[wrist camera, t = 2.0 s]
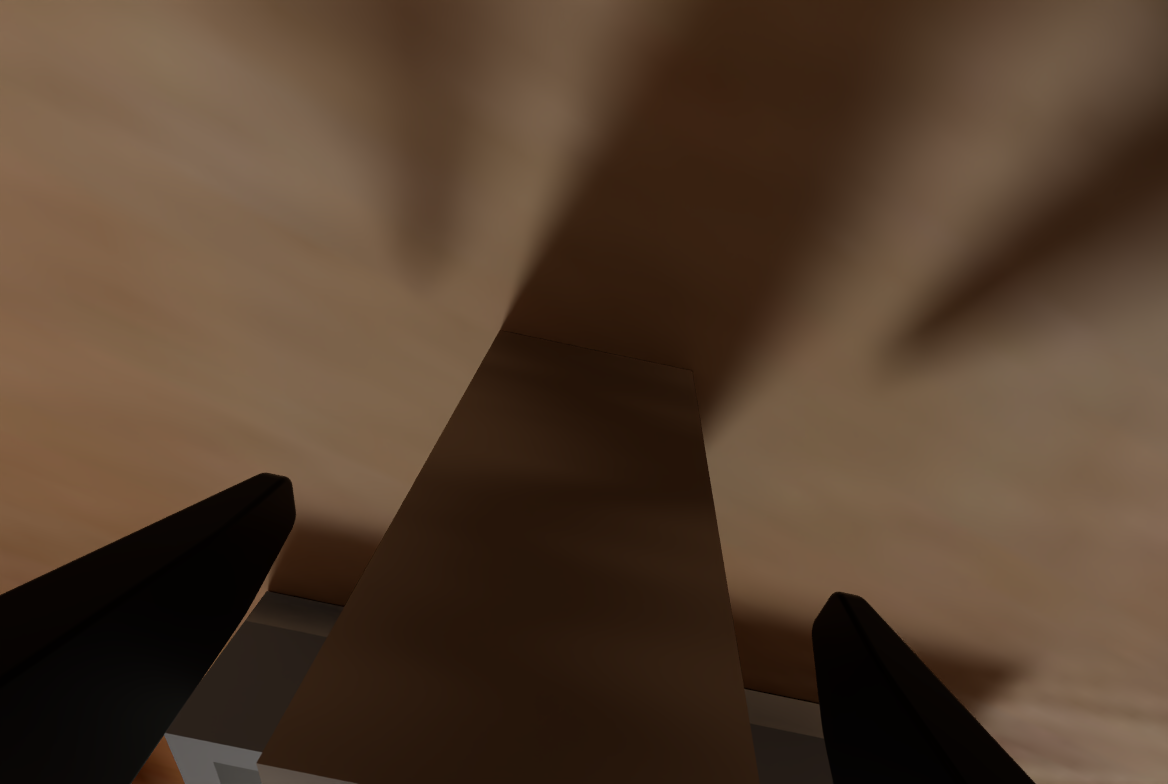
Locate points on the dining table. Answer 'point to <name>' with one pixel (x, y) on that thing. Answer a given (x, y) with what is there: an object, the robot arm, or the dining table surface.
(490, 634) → the peg
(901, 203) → the dining table surface
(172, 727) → the walled box
